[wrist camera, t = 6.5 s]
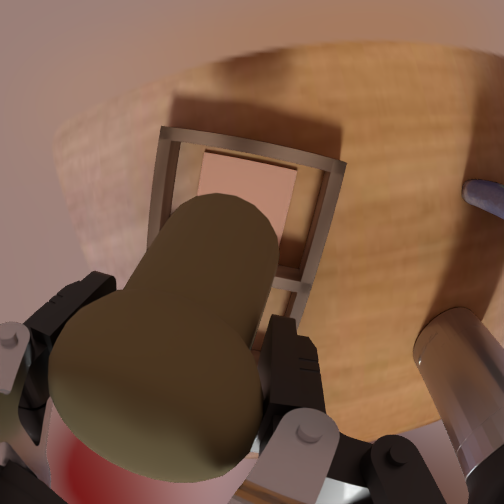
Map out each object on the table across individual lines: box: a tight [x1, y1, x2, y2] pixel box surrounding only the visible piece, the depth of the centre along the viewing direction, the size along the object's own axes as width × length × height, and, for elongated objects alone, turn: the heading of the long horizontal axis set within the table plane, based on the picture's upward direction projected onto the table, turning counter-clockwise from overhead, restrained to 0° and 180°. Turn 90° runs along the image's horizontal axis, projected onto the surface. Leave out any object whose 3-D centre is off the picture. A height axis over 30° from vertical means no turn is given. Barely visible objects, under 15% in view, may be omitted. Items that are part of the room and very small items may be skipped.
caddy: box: [146, 126, 347, 367], centre depth 25 cm, size 14×21×2 cm, turn 169°
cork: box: [48, 193, 280, 483], centre depth 10 cm, size 6×6×11 cm
